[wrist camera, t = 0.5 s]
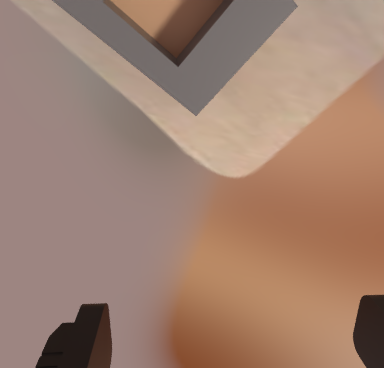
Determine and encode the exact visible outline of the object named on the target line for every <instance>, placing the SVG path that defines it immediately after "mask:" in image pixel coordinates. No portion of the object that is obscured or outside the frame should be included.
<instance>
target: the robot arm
mask: <svg viewBox="0 0 384 368" xmlns="http://www.w3.org/2000/svg"><path fill="white" fill-rule="evenodd" d="M353 341H354V345H355V349H356V351H357V353H358V355H359V357H360V358H361V360H362V361H363V363H364V365H365V366H366V368H384V295H365V296H363V297H362V298H361V300H360V305H359V309H358V314H357V318H356V323H355V328H354V332H353ZM111 355H112V338H111V329H110V319H109V309H108V304H107V303H104V304H82V305H81V307H80V309H79V312H78V315H77V317H76V320H75V322H74V323H62V324H61V325H60V326H59V327H58V328H57V329H56V330H55V331H54V332H53V333H52V334H51V335H50V337H49V338H48V340H47V343H46V345H45V347H44V349H43V351H42V356H41V357H40V358H39V360H38V362H37V365H36V368H110V364H111V357H112V356H111Z"/></svg>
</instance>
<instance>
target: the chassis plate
mask: <svg viewBox="0 0 384 368" xmlns="http://www.w3.org/2000/svg"><path fill="white" fill-rule="evenodd" d="M52 1H54V2H55V3H56V4H57V5H59V6H60V7H61V8H62V9H64V10H65V11H66V12H67V13H69V14H70V15H71V16H72V17H74V18H75V19H76V20H77V21H79V22H80V23H81V24H82V25H84V26H85V27H86V28H87V29H89V30H90V31H91V32H92V33H94V34H95V35H96V36H97V37H98V38H100V39H101V40H102V41H103V42H105V43H106V44H107V45H108V46H110V47H111V48H112V49H113V50H115V51H116V52H117V53H118V54H120V55H121V56H122V57H123V58H125V59H126V60H127V61H128V62H130V63H131V64H132V65H133V66H135V67H136V68H137V69H138V70H140V71H141V72H142V73H143V74H144V75H146V76H147V77H148V78H149V79H151V80H152V81H153V82H154V83H156V84H157V85H158V86H159V87H161V88H162V89H163V90H164V91H166V92H167V93H168V94H169V95H171V96H172V97H173V98H174V99H176V100H177V101H178V102H179V103H181V104H182V105H183V106H184V107H185V108H187V109H188V110H189V111H190V112H192V113H193V114H194V115H195V116H197V115H198V114H199V112H200V111H201V110H202V109H203V108H204V107H205V106H206V105H207V104H208V103H209V102H210V101H211V99H212V98H213V97H214V96H215V95H216V94H217V93H218V92H219V91H220V90H221V89H222V88H223V87H224V85H225V84H226V83H227V82H228V81H229V80H230V79H231V78H232V77H233V76H234V75H235V74H236V72H237V71H238V70H239V69H240V68H241V67H242V66H243V65H244V64H245V63H246V62H247V61H248V60H249V58H250V57H251V56H252V55H253V54H254V53H255V52H256V51H257V50H258V49H259V48H260V47H261V45H262V44H263V43H264V42H265V41H266V40H267V39H268V38H269V37H270V36H271V35H272V34H273V33H274V31H275V30H276V29H277V28H278V27H279V26H280V25H281V24H282V23H283V22H284V21H285V20H286V19H287V17H288V16H289V15H290V14H291V13H292V12H293V11H294V10H295V9H296V8H297V7H298V6H297V5H296V3H295V2H294V1H293V0H52Z"/></svg>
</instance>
